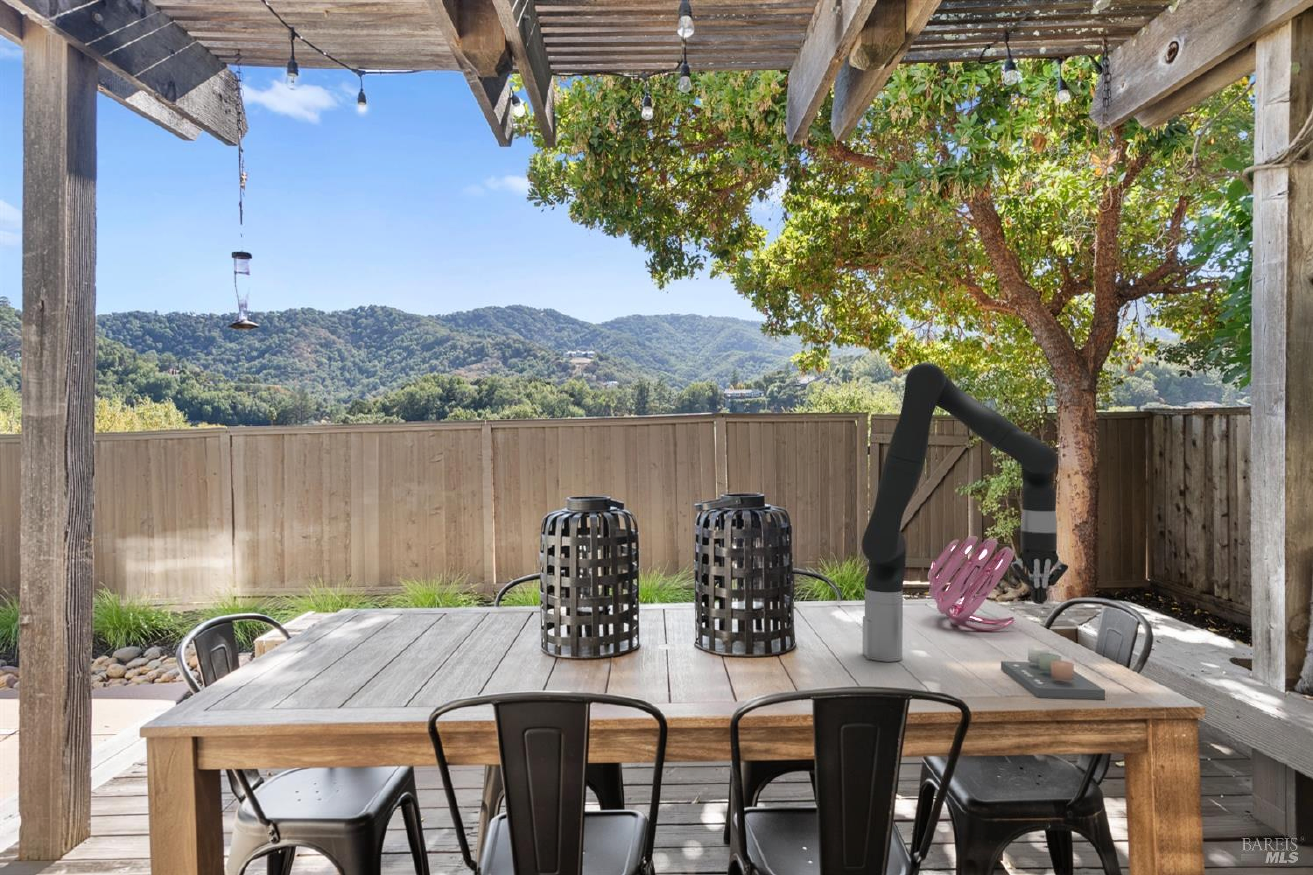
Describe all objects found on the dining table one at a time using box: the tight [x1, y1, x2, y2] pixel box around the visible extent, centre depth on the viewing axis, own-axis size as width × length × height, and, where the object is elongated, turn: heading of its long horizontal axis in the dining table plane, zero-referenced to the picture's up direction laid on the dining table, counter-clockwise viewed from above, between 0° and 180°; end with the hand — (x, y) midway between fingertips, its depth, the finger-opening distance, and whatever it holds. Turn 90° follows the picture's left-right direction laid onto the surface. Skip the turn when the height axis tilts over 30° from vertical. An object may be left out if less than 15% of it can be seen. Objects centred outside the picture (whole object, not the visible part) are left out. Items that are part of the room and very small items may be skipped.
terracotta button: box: [1051, 660, 1075, 680], centre depth 165 cm, size 4×4×3 cm
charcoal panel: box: [1000, 660, 1106, 701], centre depth 171 cm, size 14×20×2 cm
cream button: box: [1027, 645, 1050, 664], centre depth 177 cm, size 4×4×3 cm
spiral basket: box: [927, 535, 1016, 632], centre depth 225 cm, size 28×28×27 cm
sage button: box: [1039, 652, 1062, 672], centre depth 171 cm, size 4×4×3 cm
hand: (1038, 603), depth 177 cm, fingers closed
